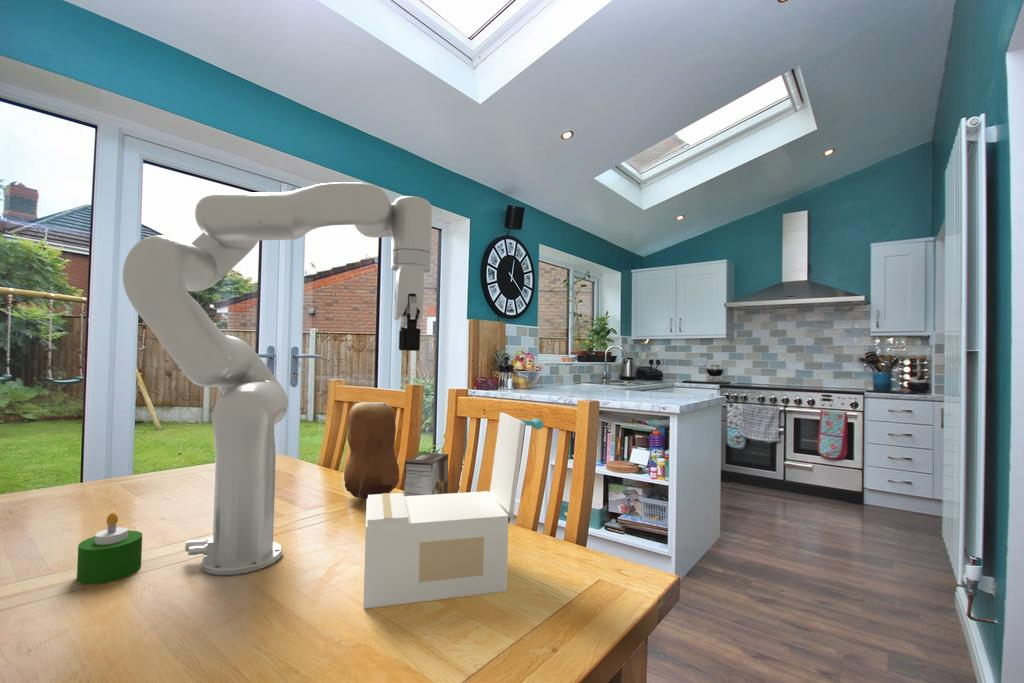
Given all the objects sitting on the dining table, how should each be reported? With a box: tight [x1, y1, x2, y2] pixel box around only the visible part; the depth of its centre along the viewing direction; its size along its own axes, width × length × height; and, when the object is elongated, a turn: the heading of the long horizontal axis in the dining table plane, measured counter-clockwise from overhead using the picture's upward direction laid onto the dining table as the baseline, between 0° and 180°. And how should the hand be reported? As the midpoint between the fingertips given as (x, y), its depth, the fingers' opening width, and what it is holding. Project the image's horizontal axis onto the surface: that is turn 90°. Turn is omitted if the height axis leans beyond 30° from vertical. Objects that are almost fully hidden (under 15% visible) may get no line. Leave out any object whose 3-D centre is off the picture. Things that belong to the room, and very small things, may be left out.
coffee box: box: [403, 452, 449, 496], centre depth 100 cm, size 9×6×16 cm
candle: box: [76, 512, 143, 585], centre depth 81 cm, size 8×8×10 cm
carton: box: [363, 490, 509, 610], centre depth 81 cm, size 22×14×13 cm, turn 106°
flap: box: [488, 412, 544, 519], centre depth 85 cm, size 16×13×6 cm
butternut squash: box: [343, 401, 400, 500], centre depth 123 cm, size 14×13×25 cm
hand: (408, 350), depth 93 cm, fingers open, 9 cm apart
